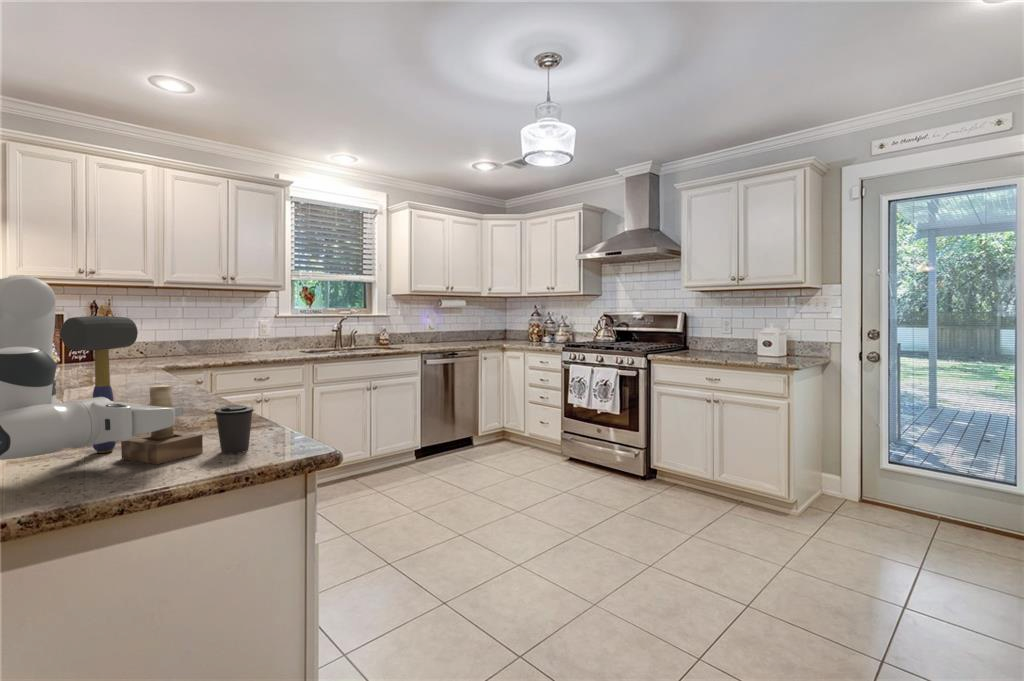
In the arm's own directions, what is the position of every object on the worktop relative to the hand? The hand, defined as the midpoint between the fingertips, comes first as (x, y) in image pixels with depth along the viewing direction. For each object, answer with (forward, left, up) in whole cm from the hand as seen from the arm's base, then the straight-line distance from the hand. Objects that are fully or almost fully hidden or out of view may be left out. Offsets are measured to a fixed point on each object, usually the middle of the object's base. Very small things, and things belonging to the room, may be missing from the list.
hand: (166, 408), depth 112 cm
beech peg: (0, -1, -10) cm, 10 cm away
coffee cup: (+10, +8, -10) cm, 17 cm away
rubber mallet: (-15, -4, -10) cm, 18 cm away
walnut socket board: (0, -1, -10) cm, 10 cm away
